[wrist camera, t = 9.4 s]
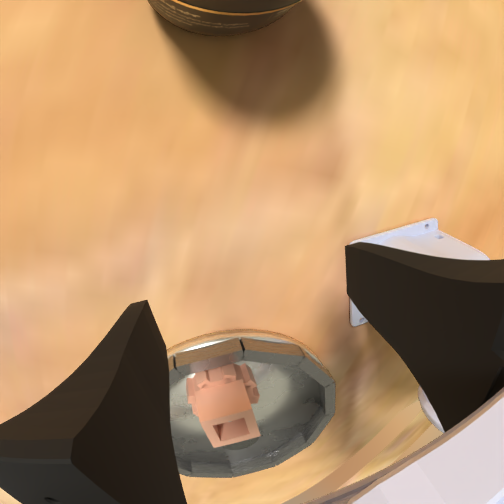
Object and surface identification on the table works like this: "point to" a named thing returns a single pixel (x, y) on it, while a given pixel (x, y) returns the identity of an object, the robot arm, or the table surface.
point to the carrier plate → (265, 411)
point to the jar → (222, 14)
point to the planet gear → (225, 403)
